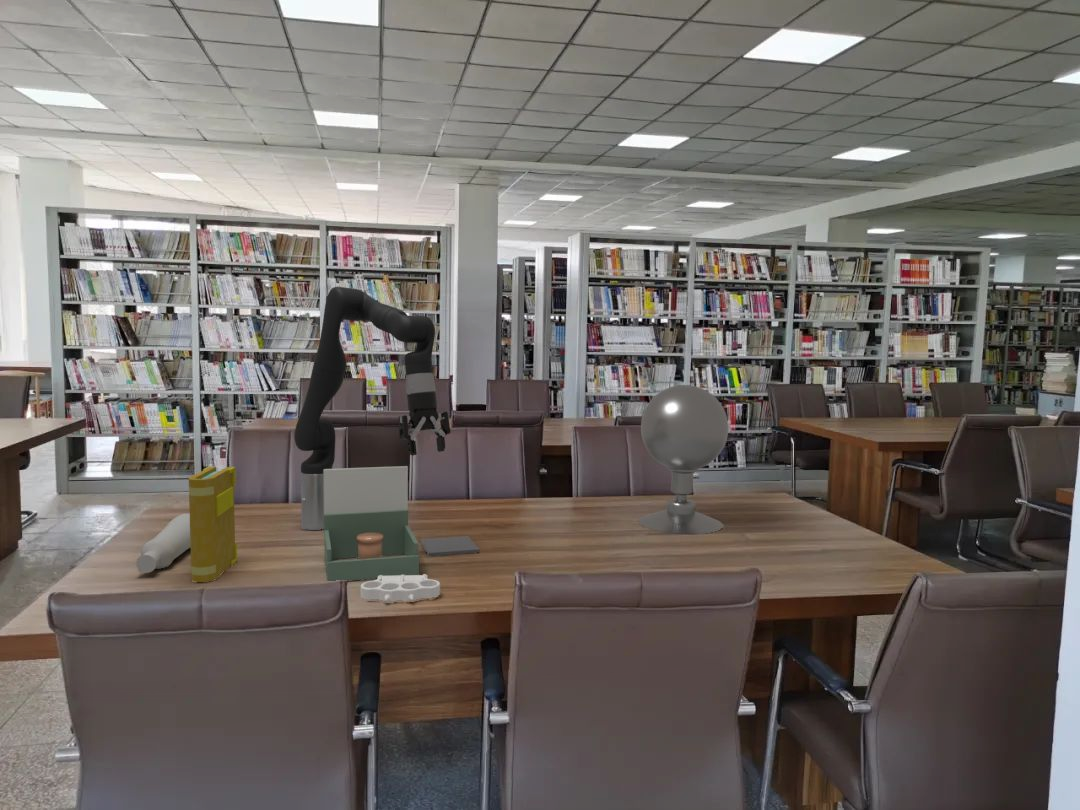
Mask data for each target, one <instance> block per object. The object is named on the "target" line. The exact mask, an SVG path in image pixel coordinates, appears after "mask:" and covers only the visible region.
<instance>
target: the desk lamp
mask: <svg viewBox="0 0 1080 810" xmlns="http://www.w3.org/2000/svg"><path fill="white" fill-rule="evenodd" d="M640 434H641V439H642V443H643V444H644V447H645V449H646V451H647V452H648V454H649V455H650V456H651V457H652V458H653V459H654V460H655V461H656V462H658V463H659V464H660V465H662V466H664V467H666V469H667V470H669V471H671V481H670V492H671V493H673V494H675V497H673V498H670V499H669V500H667V503H666V508H665V509H663V510H659V511H656V512H653V513H649V514H645V515H643V516H640V517H639V518H638V520H637V522H638V524H639V525H641V526H643V527H645V528H646V529H649V530H654V531H657V532H662V533H668V534H678V535H704V534H705V533H707V534H712V533H711V532H713V533H716V532H715V531H717V532H719V531H718V530H720V529H721V528H722V526H723V524H724V523H723V524H722V523H721V522H722V521H720V520H718V519H716V518H713V517H711V516H709V515H705V514H704V513H701V512H699V511H696V509H697V508H696V507H697V505H696V502H695V501H694V500H692V499H689V498H687V497H688V495H690V494H692V493H693V491H694V490H693V488H694V473H695V472H698V471H699V470H700V469H702V468H704V467H707V466H708V465H709V464H711V463H712V462H713V461H715V460H716V459H717V458H718V456H719V455H721V453H722V451H723V450H724V448H725V445H726V444H727V441H728V437H729V436H728V435H729V419H728V416H727V413H726V411H725V409H724V407H723V405H722V404H721V402H720V401H719V399H717V398H716V396H714V395H713V394H712V393H710V392H709V391H708V390H706V389H704V388H701V387H699V386H696V385H690V384H680V385H674V386H671V387H667V388H665V389H663V390H661V391H660V392H658V393H657V394H656V395H655V396H654V397H652V399H651V400H650V401H649V402H648V403H647V405H646V406H645V408H644V411H643V413H642V417H641V423H640ZM720 531H721V530H720ZM705 535H706V534H705Z"/></svg>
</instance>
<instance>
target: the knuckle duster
mask: <svg viewBox="0 0 1080 810" xmlns="http://www.w3.org/2000/svg"><path fill="white" fill-rule="evenodd" d="M438 595H440V596H441V583H440V581H438V580H436V579H431V578H428V574H426V573H423V574H422V575H421V574H419V575H396V576H382V575H379V576H378V578H377V579H372V580H366V581H365V582H362V583H361V584H360V598H361V597H362V598H364V599H368V600H369V599H379V600H383V601H396V600H403V601H412V600H416V599H420V598H432V597H437V596H438Z"/></svg>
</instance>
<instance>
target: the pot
mask: <svg viewBox="0 0 1080 810" xmlns="http://www.w3.org/2000/svg"><path fill="white" fill-rule="evenodd" d="M357 541H358V557H357V558H358V559H370V558H383V556H382V541H383V534H380V533H363V534H359V535H358V536H357Z"/></svg>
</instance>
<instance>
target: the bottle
mask: <svg viewBox="0 0 1080 810" xmlns="http://www.w3.org/2000/svg"><path fill="white" fill-rule="evenodd" d="M188 549H191V545H190V513H182V514H178V515H177V516H175V517H174V518H173V519H171V520H170V521H169V522H168V523H167V524H166V526H165V527H164V528H163V529H162V530H161V531H160V532H159V533H158V534H157V535H155V537H154V538H153V539H151V540H148V541H146V543H144V544H143V546H142V547H141V551H140V556H139V557H138V558H137V560H136V562H135V564H136V565H135V566H136V568H137V570H138V571H140V572H142V573H144V574H148V573H152V572H153V571H154V570H162V569H161V568H163V569H166V568H168V567H169V566H170V565H171V564H172V563H173V561H174V560H175V559H177V558H178V557H179V556H180V555H182V554H183V553H184V552H186V551H187V550H188ZM165 567H166V568H165Z"/></svg>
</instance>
